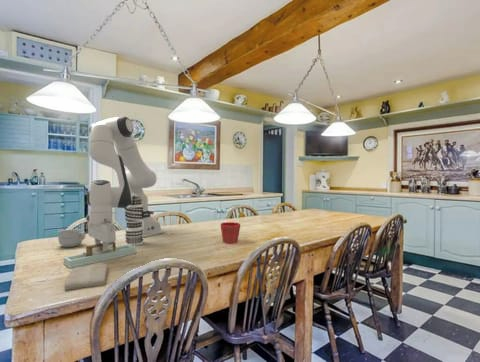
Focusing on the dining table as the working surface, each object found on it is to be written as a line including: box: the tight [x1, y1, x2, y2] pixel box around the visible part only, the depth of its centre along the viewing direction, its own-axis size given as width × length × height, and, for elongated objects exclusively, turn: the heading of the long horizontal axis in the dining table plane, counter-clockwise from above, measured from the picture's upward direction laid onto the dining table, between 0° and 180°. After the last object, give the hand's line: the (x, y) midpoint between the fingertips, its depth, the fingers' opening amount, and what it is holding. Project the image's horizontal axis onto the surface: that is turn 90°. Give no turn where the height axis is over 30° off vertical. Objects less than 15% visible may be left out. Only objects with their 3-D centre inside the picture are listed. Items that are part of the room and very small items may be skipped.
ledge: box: [63, 244, 137, 269], centre depth 119 cm, size 27×8×3 cm, turn 139°
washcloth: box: [64, 263, 109, 291], centre depth 96 cm, size 12×18×3 cm, turn 24°
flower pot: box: [220, 221, 241, 244], centre depth 148 cm, size 11×11×10 cm
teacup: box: [57, 228, 86, 248], centre depth 138 cm, size 14×11×8 cm
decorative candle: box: [123, 195, 144, 247], centre depth 143 cm, size 9×9×25 cm
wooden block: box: [85, 241, 117, 257], centre depth 119 cm, size 11×3×5 cm, turn 139°
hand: (101, 249), depth 119 cm, fingers open, 5 cm apart
